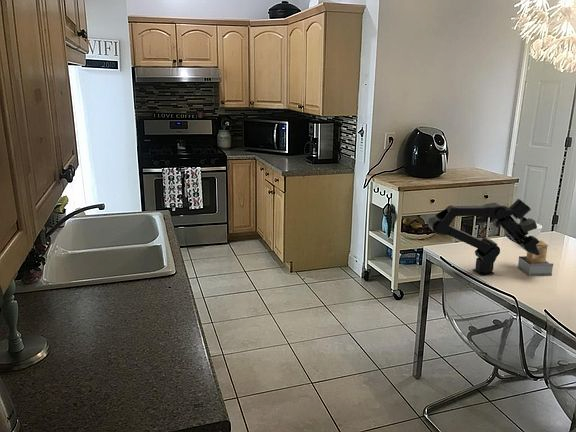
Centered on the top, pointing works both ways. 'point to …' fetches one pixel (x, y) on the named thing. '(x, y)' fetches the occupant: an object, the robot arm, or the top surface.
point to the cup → (535, 231)
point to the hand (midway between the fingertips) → (533, 250)
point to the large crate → (534, 267)
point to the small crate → (541, 257)
